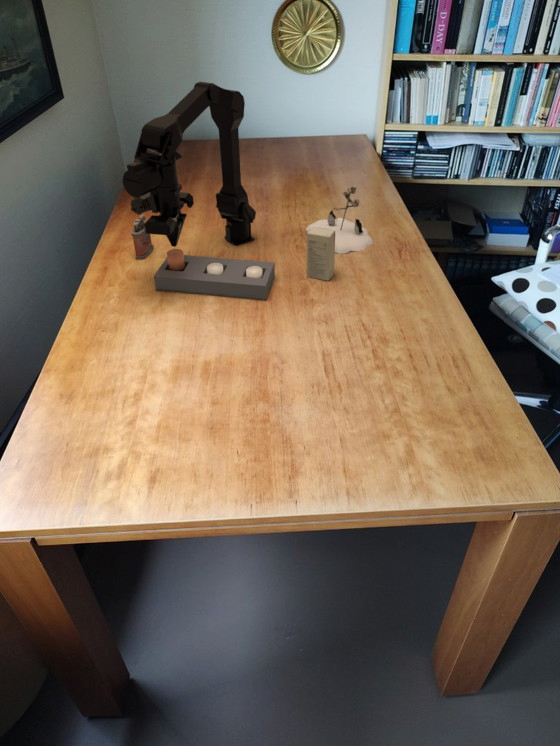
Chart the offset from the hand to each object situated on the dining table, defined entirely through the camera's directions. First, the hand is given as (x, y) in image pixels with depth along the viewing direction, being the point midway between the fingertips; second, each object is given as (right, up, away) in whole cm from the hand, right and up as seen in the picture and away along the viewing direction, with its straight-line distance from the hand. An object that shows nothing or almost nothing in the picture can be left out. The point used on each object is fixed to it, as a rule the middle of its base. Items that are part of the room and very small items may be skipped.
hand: (174, 245), depth 135 cm
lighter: (-12, +2, +18) cm, 21 cm away
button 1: (+10, -8, +4) cm, 13 cm away
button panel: (+10, -8, +5) cm, 14 cm away
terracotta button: (0, -4, +4) cm, 6 cm away
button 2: (+20, -9, +3) cm, 22 cm away
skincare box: (+36, -6, +8) cm, 38 cm away
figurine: (+43, +8, +25) cm, 50 cm away
